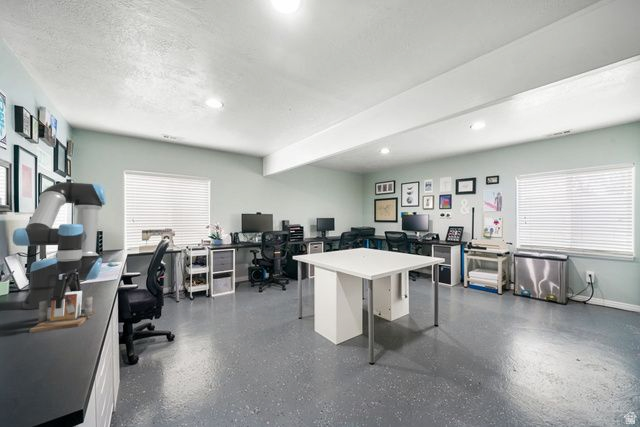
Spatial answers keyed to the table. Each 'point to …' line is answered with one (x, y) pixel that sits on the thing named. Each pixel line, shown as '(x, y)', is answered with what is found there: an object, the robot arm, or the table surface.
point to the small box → (69, 306)
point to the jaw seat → (60, 324)
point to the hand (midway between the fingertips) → (66, 311)
